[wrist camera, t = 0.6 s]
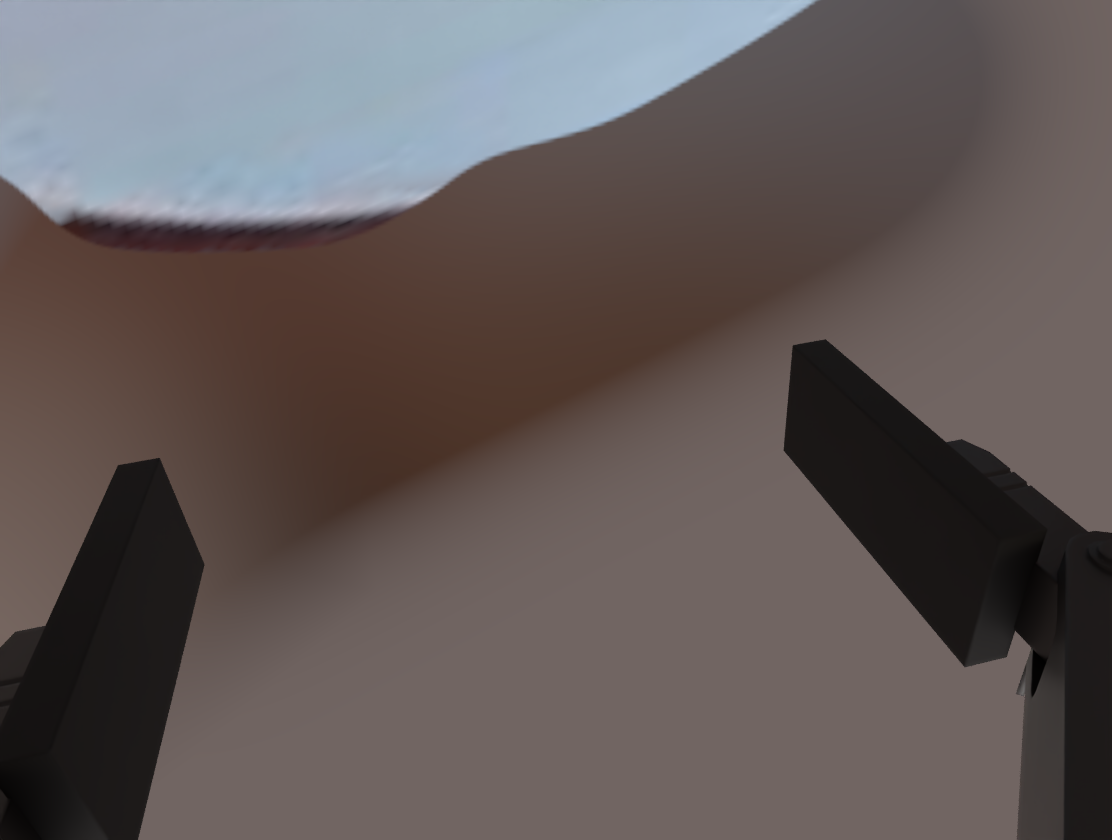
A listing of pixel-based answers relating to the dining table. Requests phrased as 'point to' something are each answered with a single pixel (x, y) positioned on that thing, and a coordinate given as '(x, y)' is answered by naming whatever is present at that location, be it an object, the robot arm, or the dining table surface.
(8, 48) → the dining table surface
